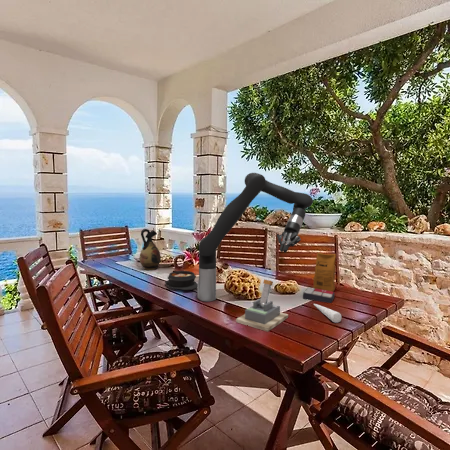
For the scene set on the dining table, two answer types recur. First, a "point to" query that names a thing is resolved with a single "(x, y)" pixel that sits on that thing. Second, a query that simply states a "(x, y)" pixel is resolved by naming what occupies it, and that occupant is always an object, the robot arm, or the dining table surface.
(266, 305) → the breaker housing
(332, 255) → the coffee package
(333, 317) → the unicorn horn
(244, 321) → the mounting board
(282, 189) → the robot arm
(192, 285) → the casserole
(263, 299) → the lever
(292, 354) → the dining table surface
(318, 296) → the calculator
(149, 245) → the ceramic jug
